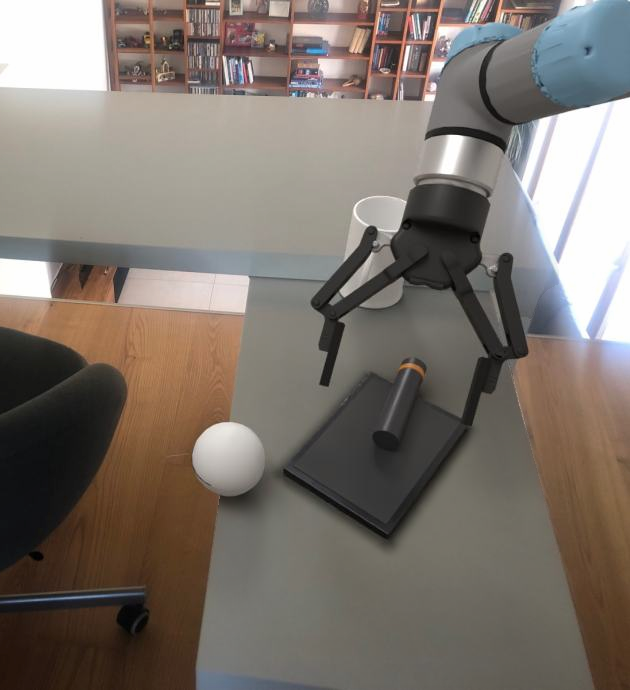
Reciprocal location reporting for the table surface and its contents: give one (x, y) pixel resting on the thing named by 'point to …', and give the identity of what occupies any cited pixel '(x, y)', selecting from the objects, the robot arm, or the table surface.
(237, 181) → the table surface
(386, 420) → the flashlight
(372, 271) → the mug
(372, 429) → the tablet
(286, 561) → the table surface
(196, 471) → the white sphere
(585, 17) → the robot arm
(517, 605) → the table surface
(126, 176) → the table surface
